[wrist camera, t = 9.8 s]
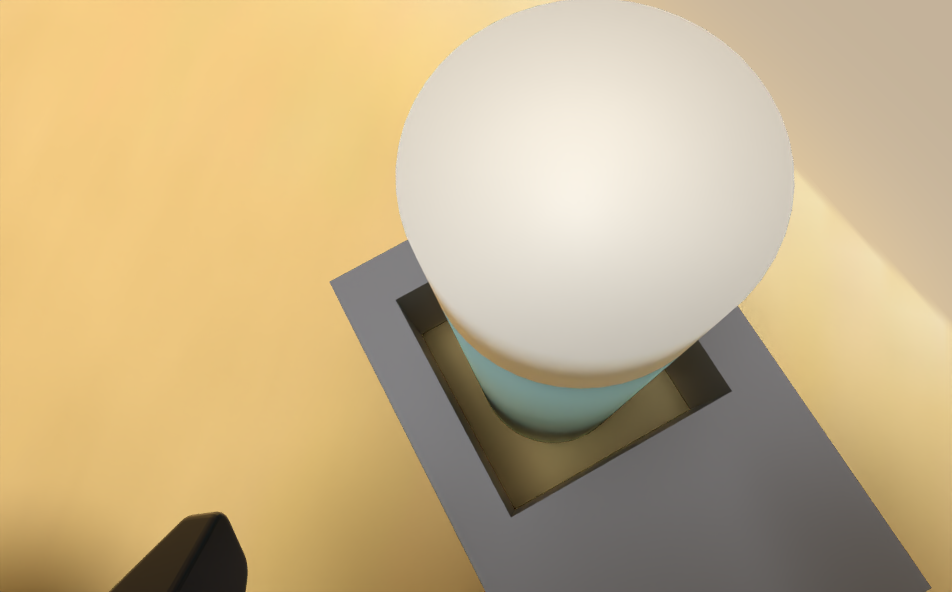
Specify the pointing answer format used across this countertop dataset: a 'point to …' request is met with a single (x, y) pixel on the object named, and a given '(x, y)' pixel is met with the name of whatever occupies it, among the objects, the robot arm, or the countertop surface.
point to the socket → (641, 473)
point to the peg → (590, 202)
